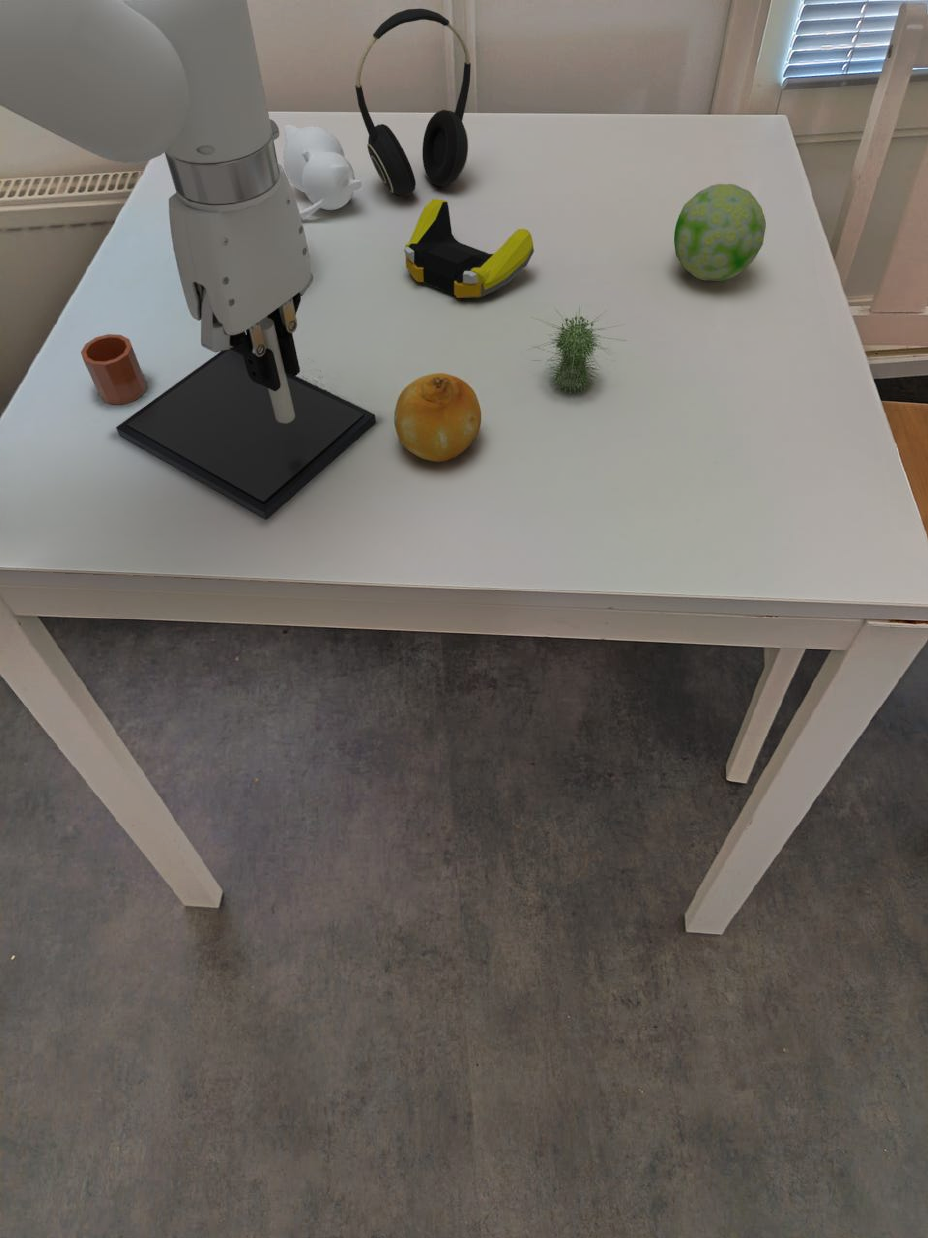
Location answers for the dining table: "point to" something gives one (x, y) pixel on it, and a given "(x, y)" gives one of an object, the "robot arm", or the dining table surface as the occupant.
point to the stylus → (282, 395)
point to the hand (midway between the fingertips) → (275, 375)
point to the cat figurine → (318, 168)
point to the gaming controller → (461, 256)
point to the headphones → (442, 133)
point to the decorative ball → (719, 232)
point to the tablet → (245, 432)
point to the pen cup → (114, 369)
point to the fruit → (437, 417)
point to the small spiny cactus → (574, 352)
